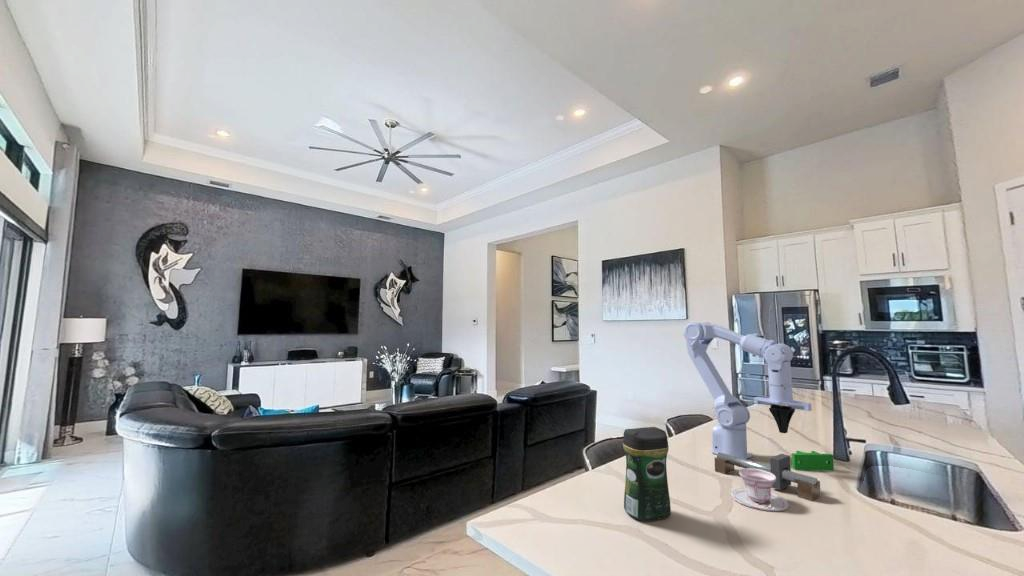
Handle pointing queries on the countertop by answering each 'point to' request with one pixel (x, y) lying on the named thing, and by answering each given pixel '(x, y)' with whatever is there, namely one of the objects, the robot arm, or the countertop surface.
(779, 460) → the collar
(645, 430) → the coffee jar
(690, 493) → the countertop surface
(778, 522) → the countertop surface
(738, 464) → the pipe rig
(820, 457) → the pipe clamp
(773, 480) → the teacup
